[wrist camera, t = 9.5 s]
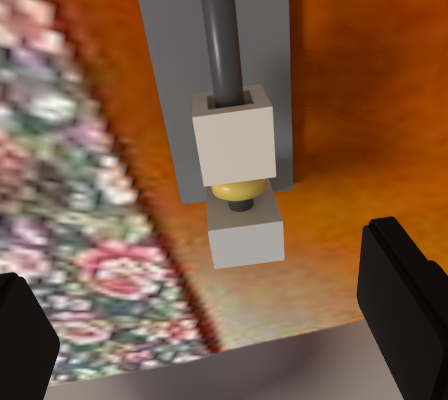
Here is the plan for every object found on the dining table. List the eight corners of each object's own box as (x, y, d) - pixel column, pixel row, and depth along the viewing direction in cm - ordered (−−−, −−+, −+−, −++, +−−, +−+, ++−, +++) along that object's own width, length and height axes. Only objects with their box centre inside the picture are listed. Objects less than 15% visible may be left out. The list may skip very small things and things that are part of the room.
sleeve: (192, 93, 22) (192, 117, 19) (260, 84, 22) (272, 106, 19) (203, 155, 24) (203, 186, 21) (265, 146, 24) (276, 177, 21)
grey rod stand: (94, -217, 18) (26, -335, 11) (279, -244, 18) (336, -382, 11) (182, 199, 31) (178, 273, 24) (291, 184, 31) (321, 255, 24)
